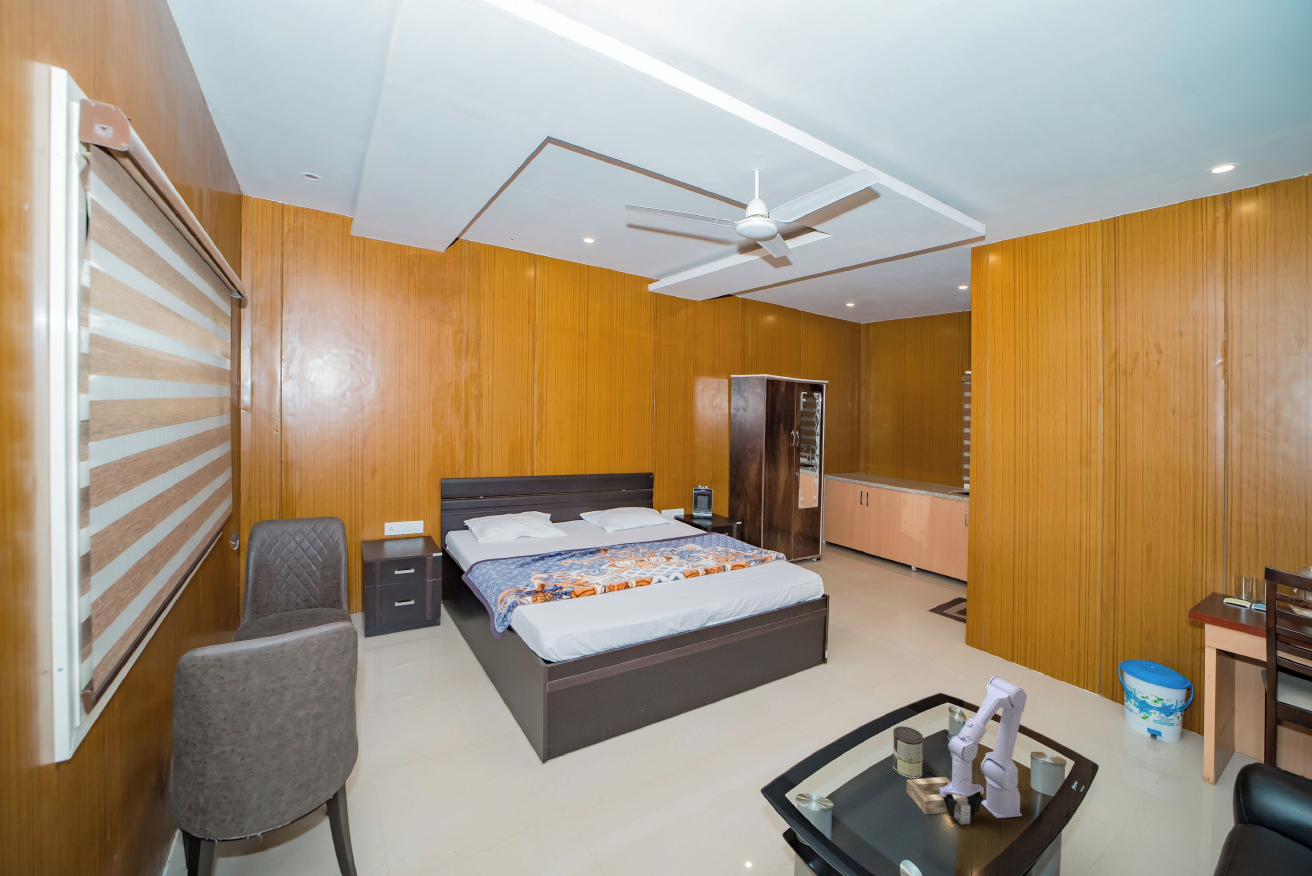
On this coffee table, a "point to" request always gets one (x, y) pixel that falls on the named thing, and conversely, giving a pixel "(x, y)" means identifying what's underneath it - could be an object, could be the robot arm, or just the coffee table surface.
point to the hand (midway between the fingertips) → (961, 814)
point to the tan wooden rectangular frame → (929, 794)
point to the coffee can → (908, 752)
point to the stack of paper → (962, 811)
